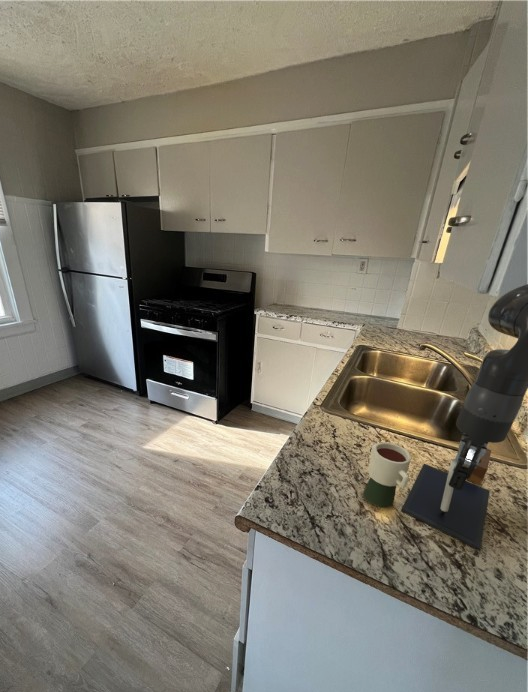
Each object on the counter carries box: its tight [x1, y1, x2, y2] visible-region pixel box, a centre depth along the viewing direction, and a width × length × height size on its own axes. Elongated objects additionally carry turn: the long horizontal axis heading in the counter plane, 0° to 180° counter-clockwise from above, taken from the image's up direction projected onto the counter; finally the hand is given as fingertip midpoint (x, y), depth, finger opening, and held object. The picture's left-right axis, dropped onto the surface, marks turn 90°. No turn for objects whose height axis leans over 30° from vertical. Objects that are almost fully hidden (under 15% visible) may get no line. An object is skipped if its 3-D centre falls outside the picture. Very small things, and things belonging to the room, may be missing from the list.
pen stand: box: [466, 448, 492, 486], centre depth 79 cm, size 10×6×5 cm, turn 140°
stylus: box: [440, 458, 457, 513], centre depth 63 cm, size 1×1×13 cm
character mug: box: [363, 441, 412, 508], centre depth 67 cm, size 11×7×13 cm, turn 14°
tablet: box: [400, 463, 491, 551], centre depth 70 cm, size 20×14×1 cm
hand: (455, 484), depth 62 cm, fingers closed on stylus, 1 cm apart
